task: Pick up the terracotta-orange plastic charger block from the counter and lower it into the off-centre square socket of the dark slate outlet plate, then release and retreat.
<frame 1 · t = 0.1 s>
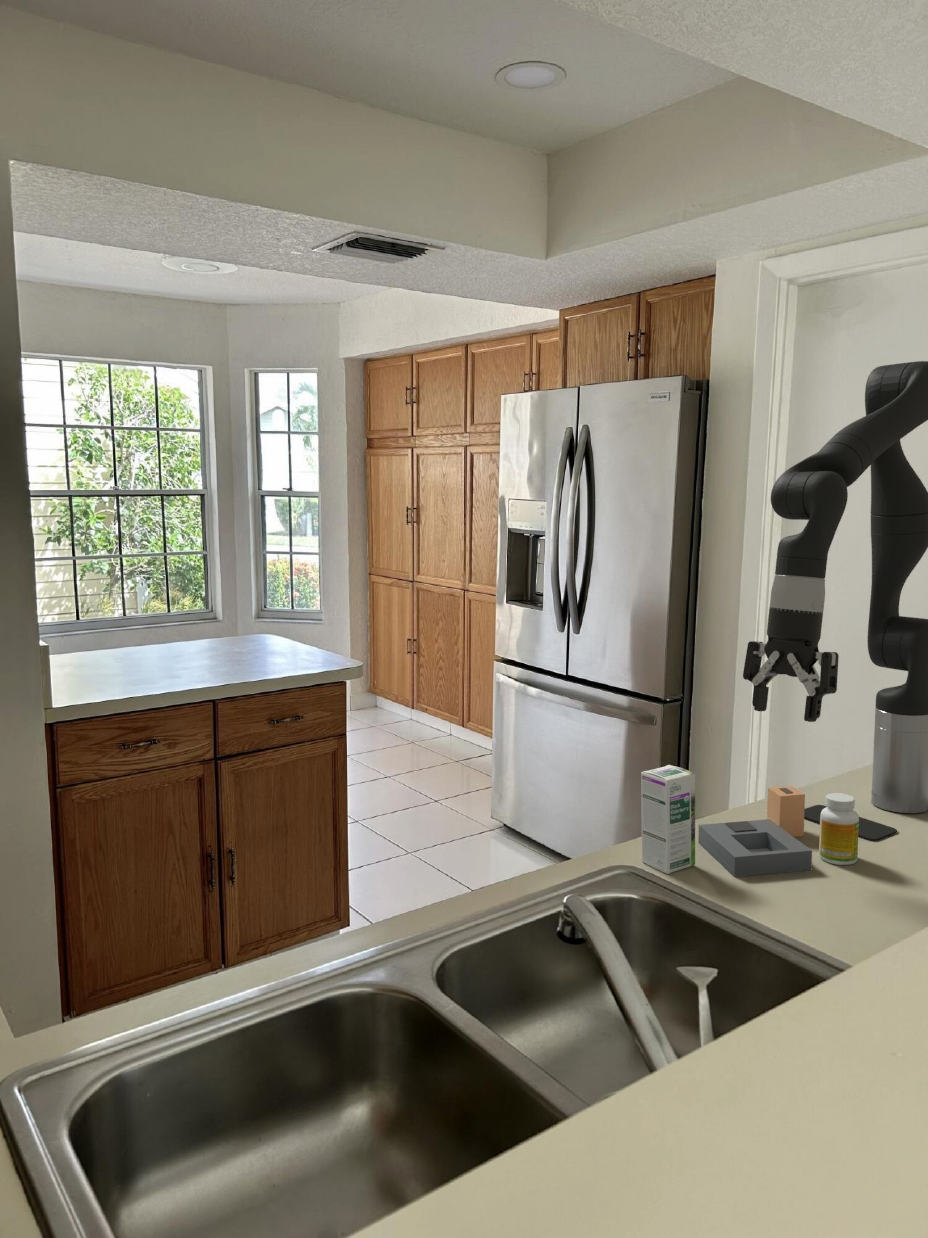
hand: (784, 715, 135), 22 cm above the countertop, tool pointing down, fingers open, 8 cm apart
syrup box: (667, 865, 137), on the countertop
phone: (844, 826, 152), on the countertop
outlet plate: (752, 855, 140), on the countertop
supplement bottle: (837, 860, 138), on the countertop
charger: (784, 832, 149), on the countertop
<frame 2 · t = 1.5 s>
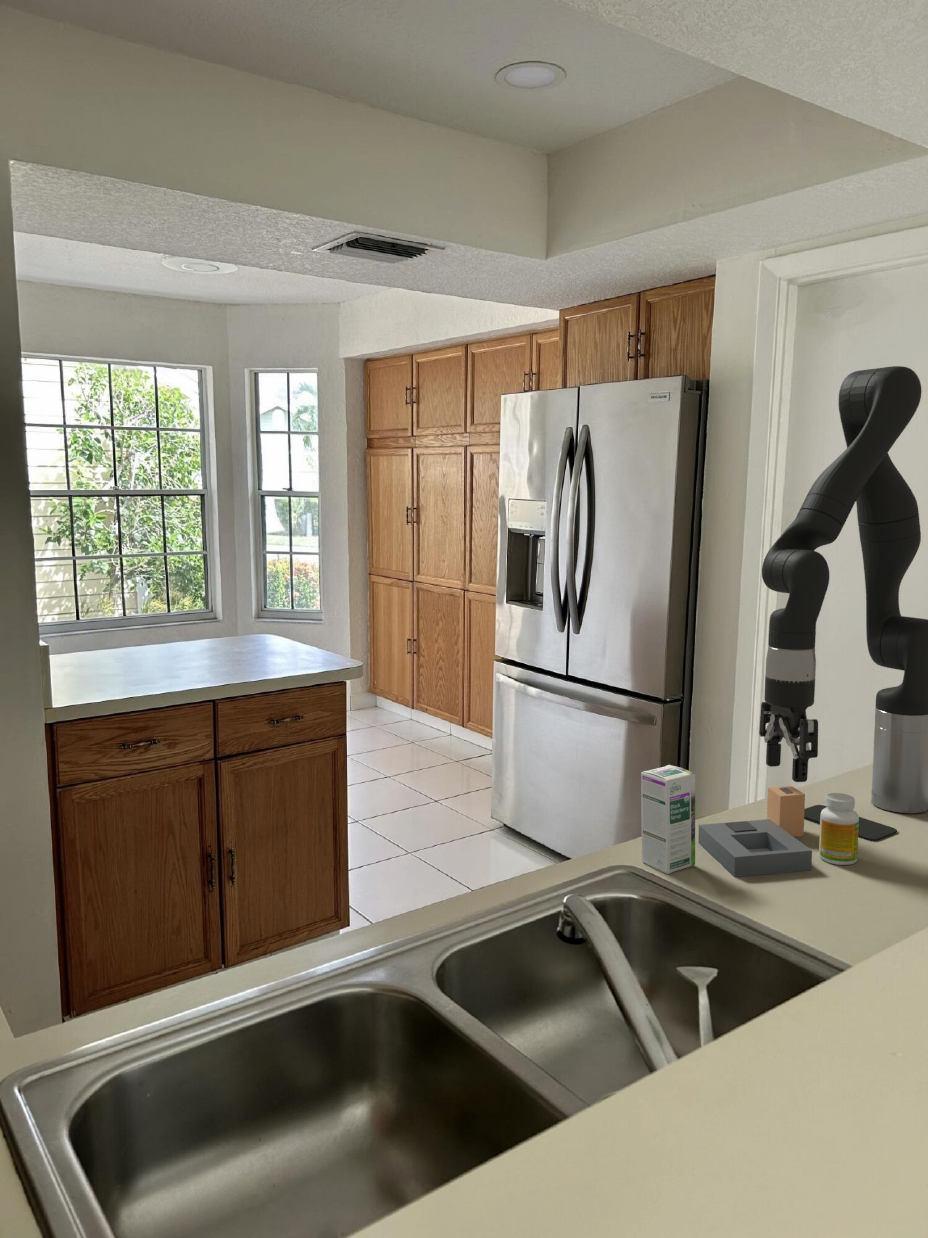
hand: (785, 773, 147), 10 cm above the countertop, tool pointing down, fingers open, 8 cm apart
nothing on the countertop moved.
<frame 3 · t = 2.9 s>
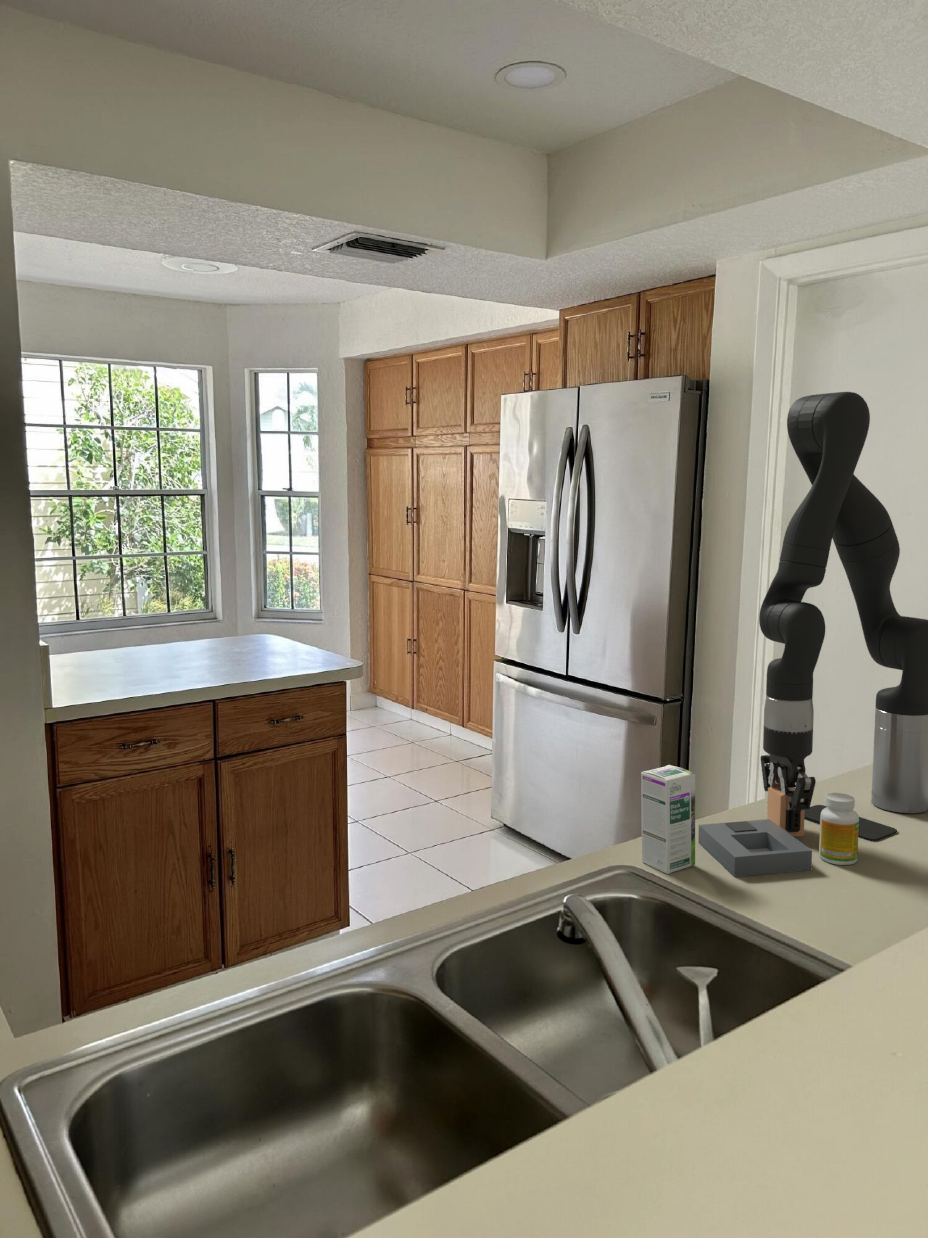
hand: (785, 825, 149), 1 cm above the countertop, tool pointing down, fingers closed on charger, 4 cm apart
charger: (785, 832, 149), on the countertop, touching gripper
everything else where it was.
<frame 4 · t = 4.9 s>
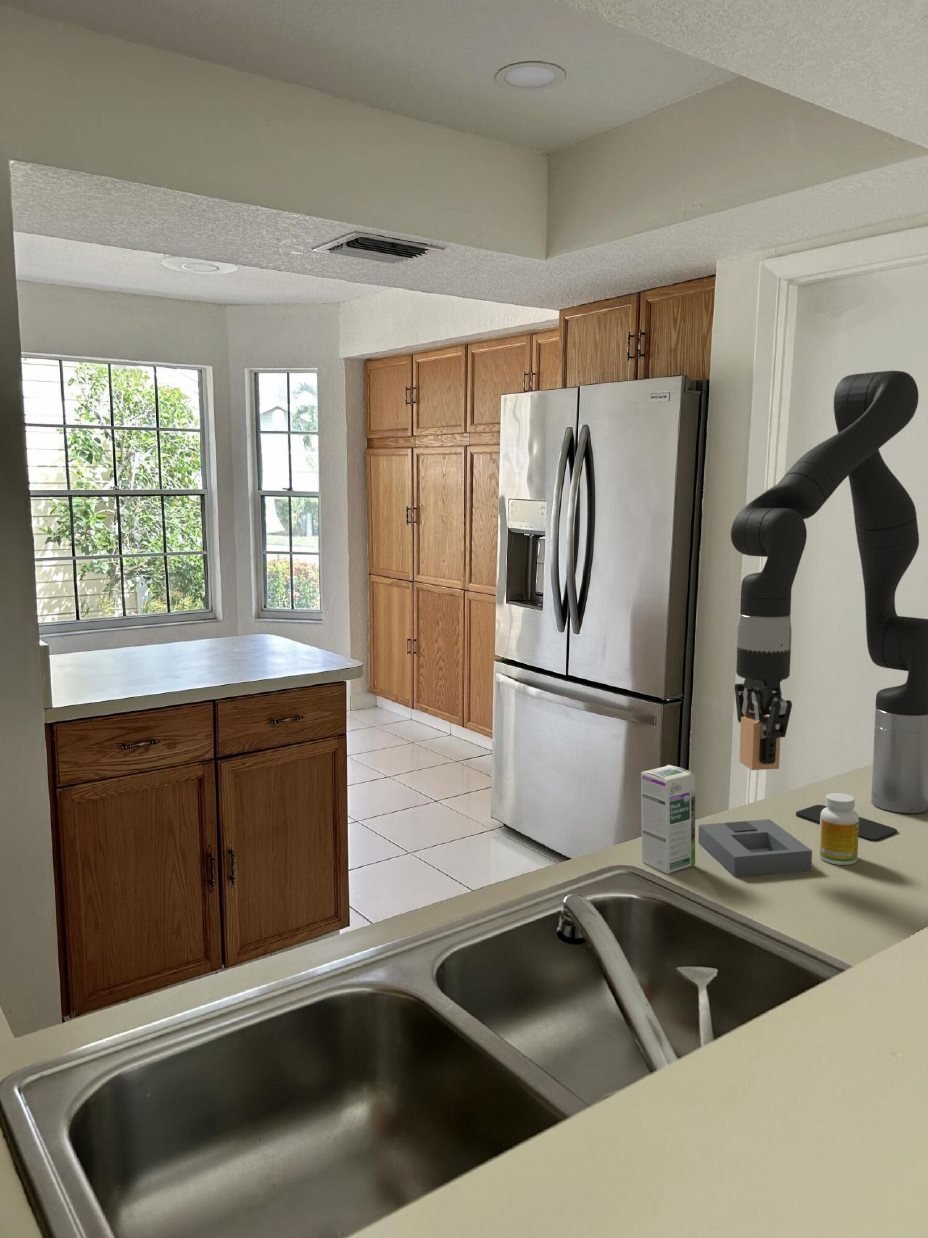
hand: (759, 758, 136), 16 cm above the countertop, tool pointing down, fingers closed on charger, 4 cm apart
charger: (758, 765, 136), point 15 cm above the countertop, touching gripper
everything else where it was.
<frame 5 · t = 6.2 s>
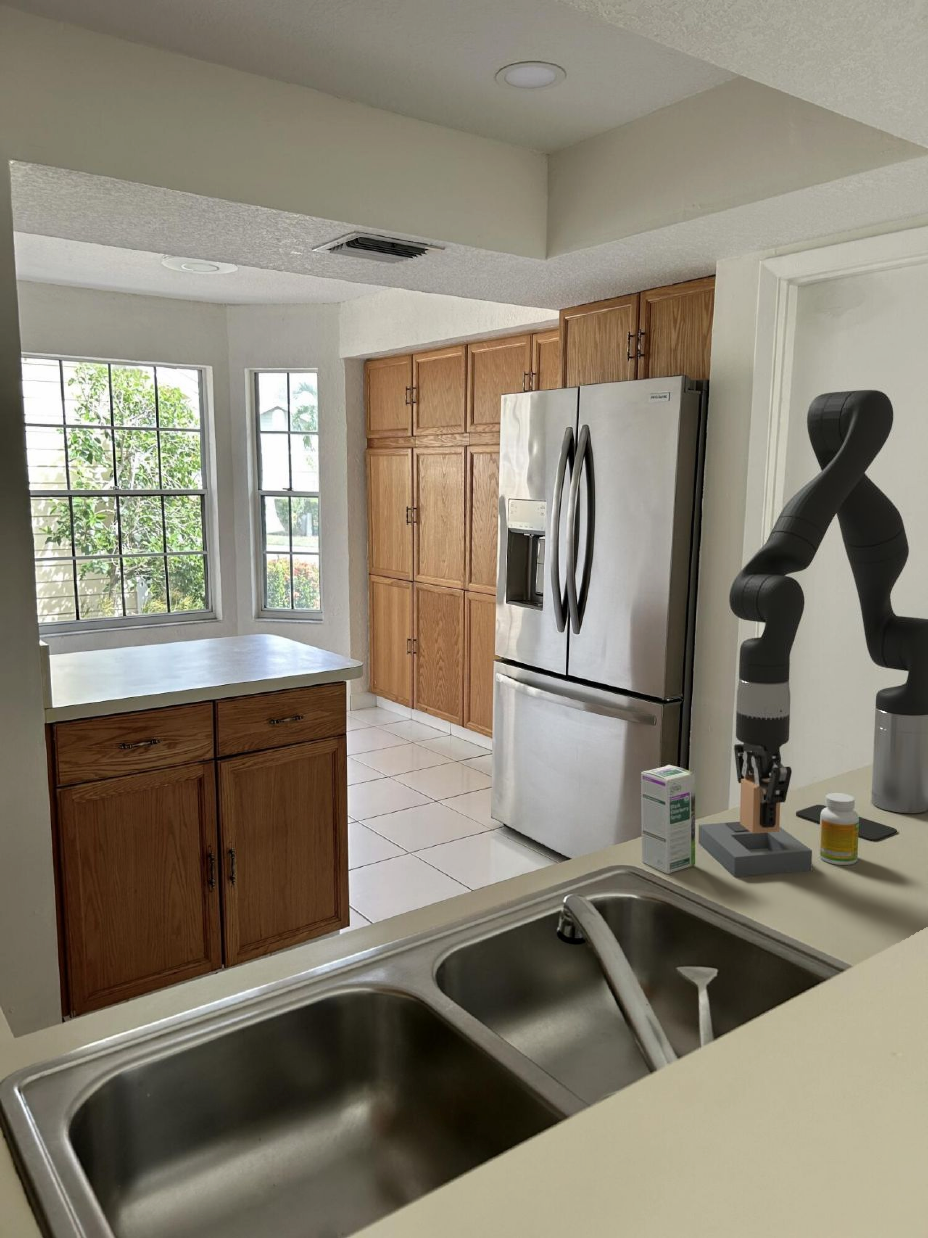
hand: (759, 820, 137), 6 cm above the countertop, tool pointing down, fingers closed on charger, 4 cm apart
charger: (759, 827, 137), point 5 cm above the countertop, touching gripper
everything else where it was.
when the fingers open (4 cm above the countertop, at t = 7.1 s): charger drops 2 cm, resting on outlet plate.
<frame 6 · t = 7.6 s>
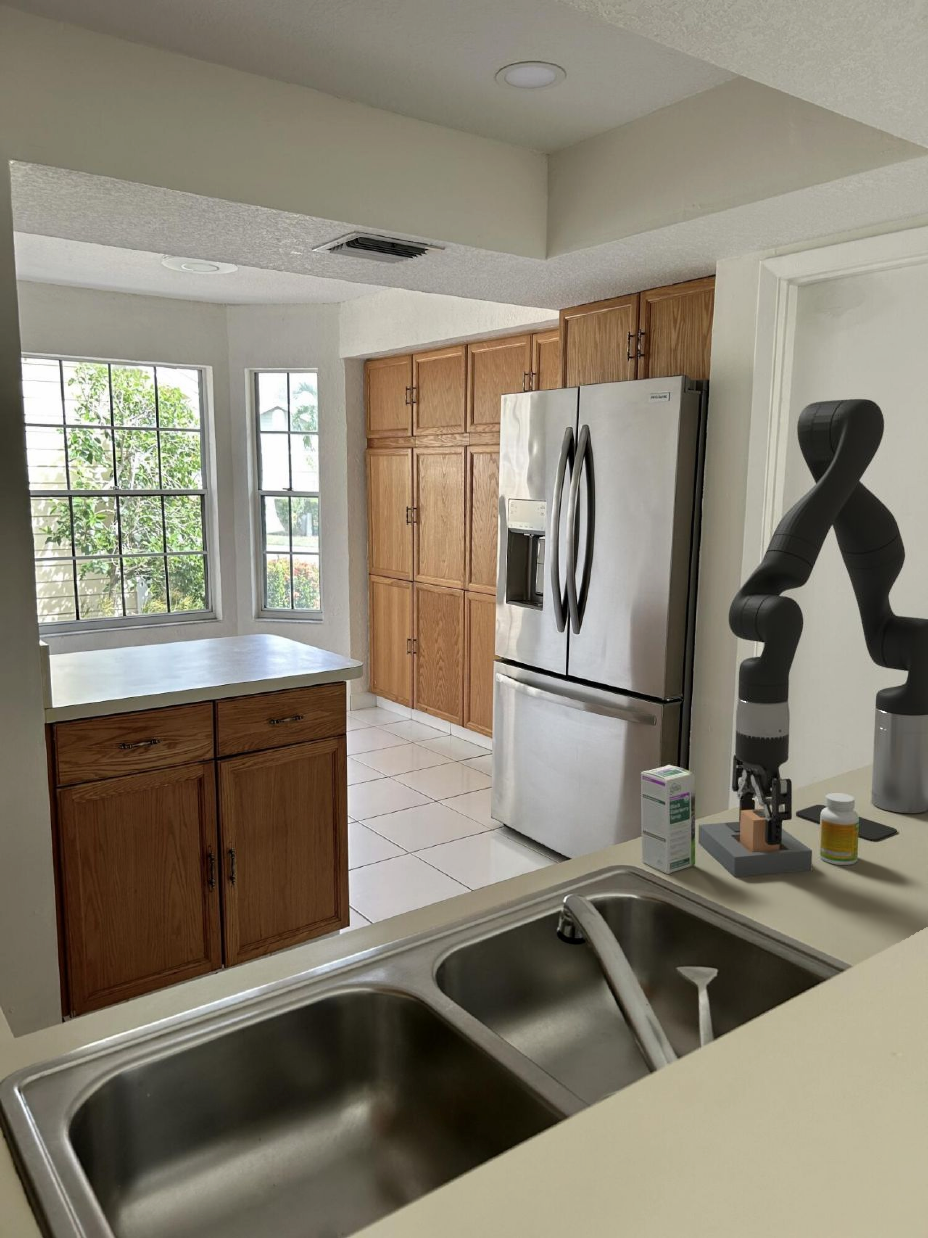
hand: (759, 833, 137), 4 cm above the countertop, tool pointing down, fingers open, 8 cm apart
charger: (759, 858, 138), resting on outlet plate
everything else where it was.
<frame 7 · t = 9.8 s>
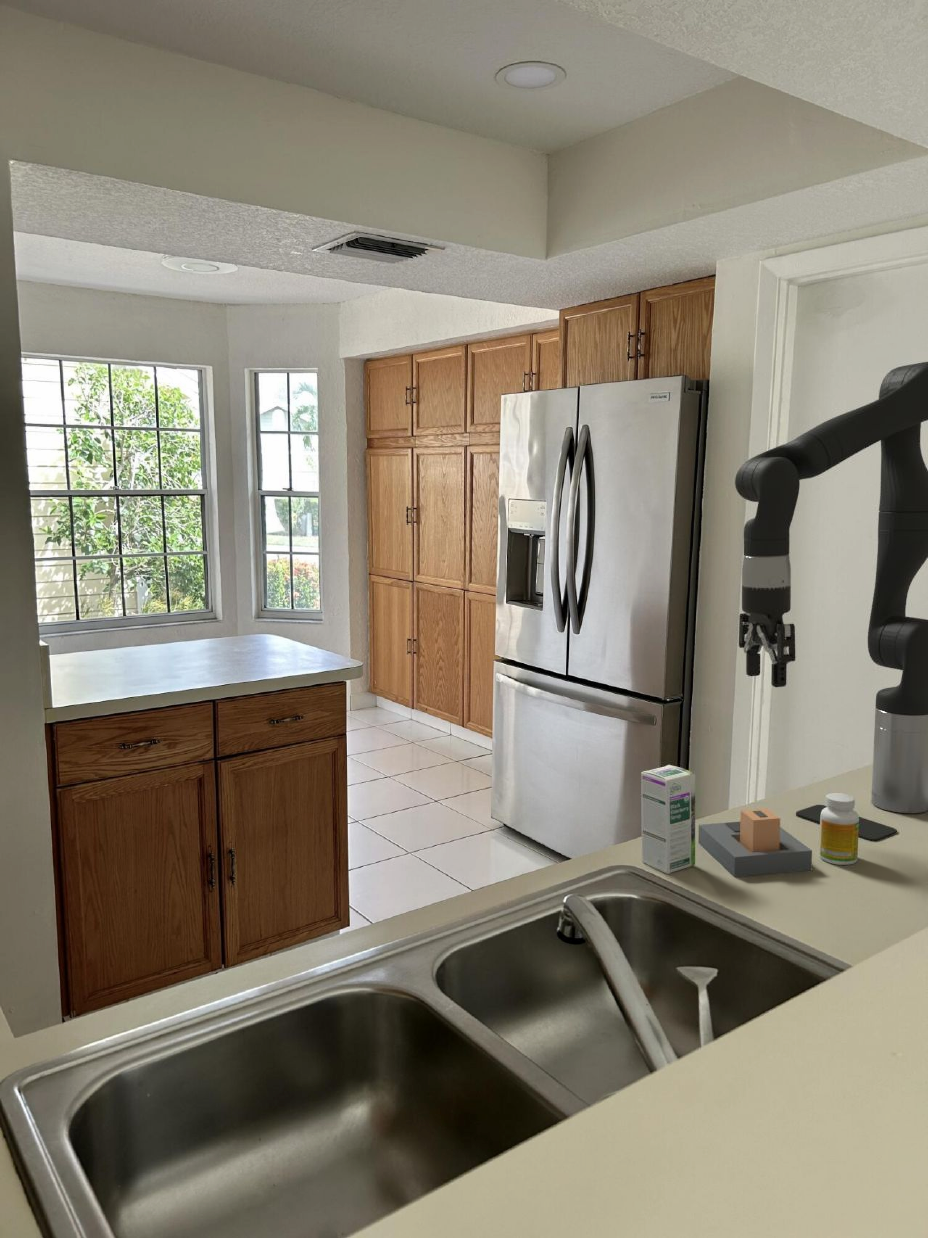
hand: (765, 680, 150), 24 cm above the countertop, tool pointing down, fingers open, 8 cm apart
nothing on the countertop moved.
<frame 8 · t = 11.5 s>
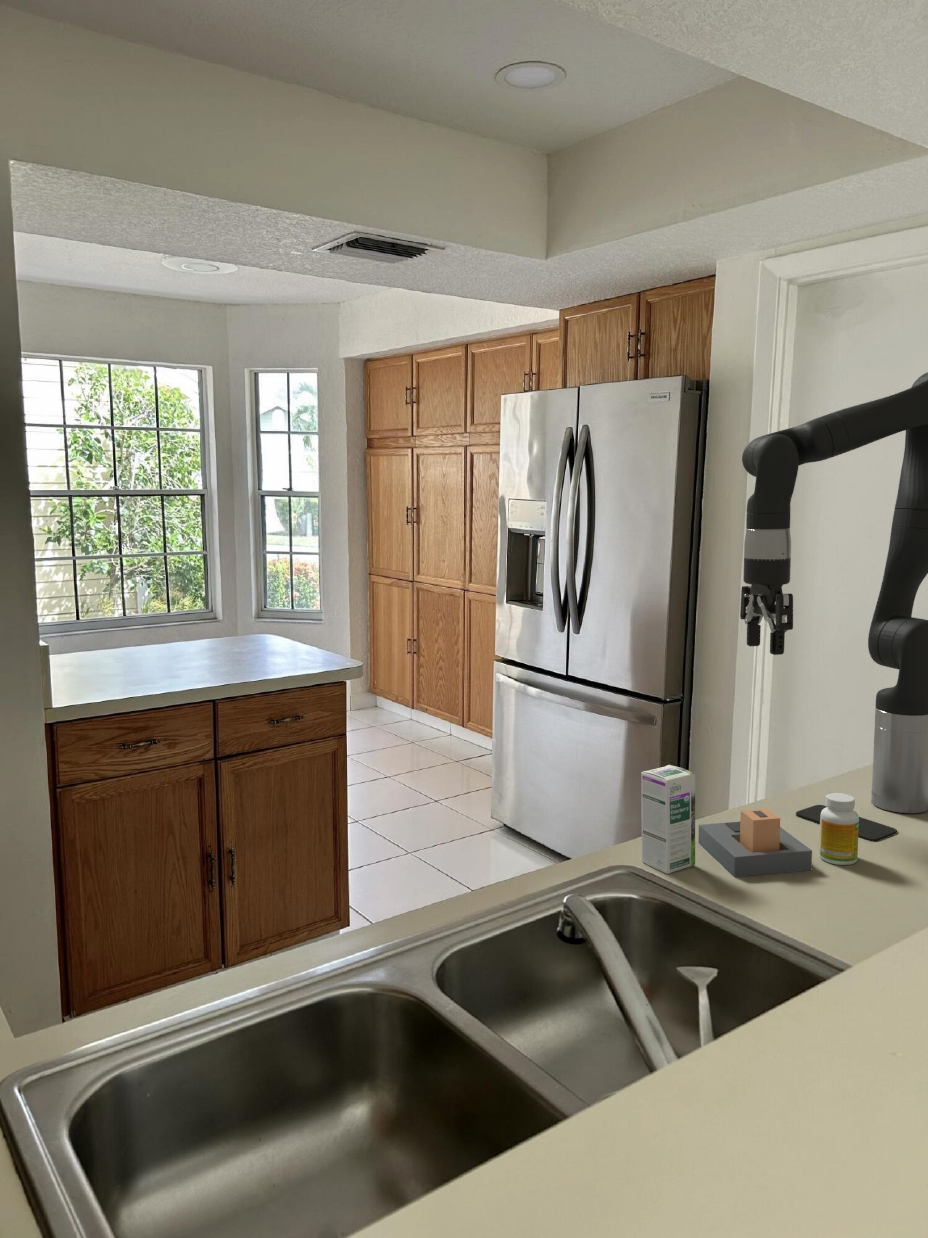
hand: (764, 650, 156), 28 cm above the countertop, tool pointing down, fingers open, 8 cm apart
nothing on the countertop moved.
at the end: charger 0.1 cm from the target spot on the outlet plate, point 0.4 cm above the outlet plate's base; charger tilted 0°; the gripper is holding nothing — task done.
